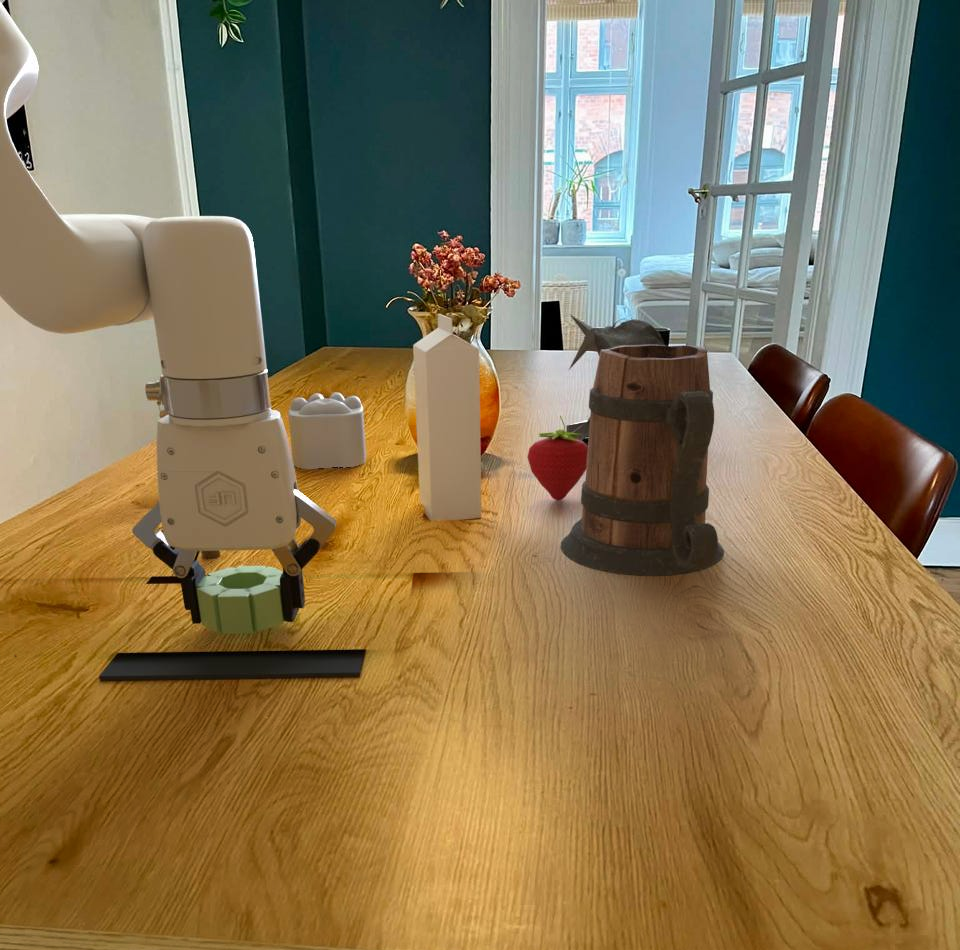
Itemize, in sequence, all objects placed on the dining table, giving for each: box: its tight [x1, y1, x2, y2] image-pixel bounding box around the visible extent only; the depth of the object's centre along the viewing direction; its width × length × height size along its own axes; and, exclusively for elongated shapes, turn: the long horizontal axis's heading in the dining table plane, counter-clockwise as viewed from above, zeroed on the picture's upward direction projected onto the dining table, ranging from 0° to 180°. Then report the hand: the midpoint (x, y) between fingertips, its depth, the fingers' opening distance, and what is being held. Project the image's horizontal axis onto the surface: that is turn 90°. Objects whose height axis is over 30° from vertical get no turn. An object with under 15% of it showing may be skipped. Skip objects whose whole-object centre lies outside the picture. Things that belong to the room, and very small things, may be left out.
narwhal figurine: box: [565, 314, 666, 441], centre depth 140 cm, size 14×15×18 cm
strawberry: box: [527, 415, 588, 501], centre depth 113 cm, size 6×8×10 cm
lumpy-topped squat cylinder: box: [287, 391, 367, 470], centre depth 134 cm, size 10×13×9 cm
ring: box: [197, 565, 287, 635], centre depth 77 cm, size 7×7×3 cm
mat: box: [98, 648, 367, 682], centre depth 79 cm, size 20×14×1 cm
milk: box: [412, 313, 483, 522], centre depth 106 cm, size 6×6×22 cm
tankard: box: [560, 345, 725, 577], centre depth 92 cm, size 24×17×20 cm
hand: (246, 614), depth 78 cm, fingers closed on ring, 6 cm apart
